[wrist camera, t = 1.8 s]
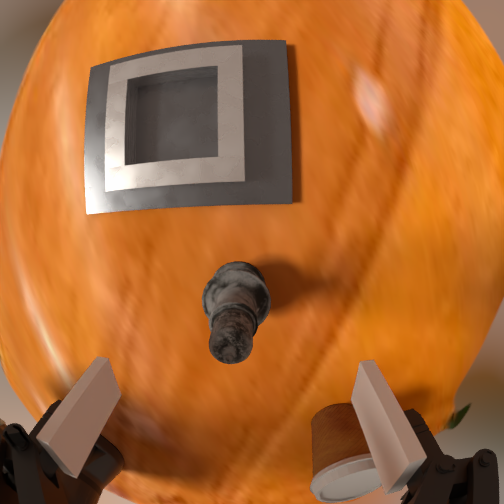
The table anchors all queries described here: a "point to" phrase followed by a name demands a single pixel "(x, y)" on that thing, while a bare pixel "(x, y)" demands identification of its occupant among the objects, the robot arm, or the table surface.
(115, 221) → the table surface
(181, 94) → the collar plate
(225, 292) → the dark grey chess piece
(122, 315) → the table surface
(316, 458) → the disposable coffee cup
